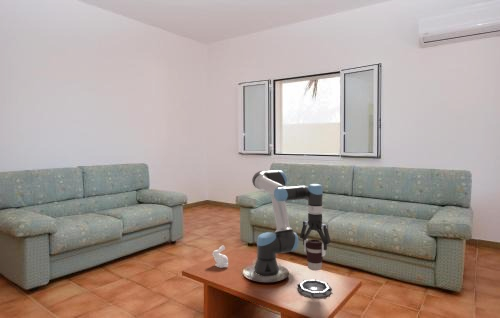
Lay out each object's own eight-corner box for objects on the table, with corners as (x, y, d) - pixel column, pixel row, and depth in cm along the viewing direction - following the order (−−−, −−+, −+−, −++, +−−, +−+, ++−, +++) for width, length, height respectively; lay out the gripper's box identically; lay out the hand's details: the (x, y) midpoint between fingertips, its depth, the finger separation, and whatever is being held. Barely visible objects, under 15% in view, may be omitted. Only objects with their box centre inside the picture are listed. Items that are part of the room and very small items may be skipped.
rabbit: (210, 265, 210) (210, 247, 209) (221, 261, 217) (221, 243, 216) (223, 270, 202) (223, 251, 201) (234, 265, 209) (234, 247, 208)
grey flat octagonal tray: (291, 290, 174) (291, 286, 174) (308, 279, 188) (308, 276, 187) (321, 301, 162) (321, 297, 162) (336, 288, 176) (337, 284, 176)
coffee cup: (324, 272, 168) (324, 244, 167) (305, 271, 170) (305, 243, 169) (323, 265, 178) (324, 239, 177) (305, 264, 180) (305, 237, 179)
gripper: (293, 211, 177) (293, 250, 178) (331, 217, 162) (330, 260, 164) (300, 209, 183) (300, 247, 184) (337, 214, 168) (337, 256, 169)
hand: (314, 253), depth 174 cm, fingers closed on coffee cup, 10 cm apart
